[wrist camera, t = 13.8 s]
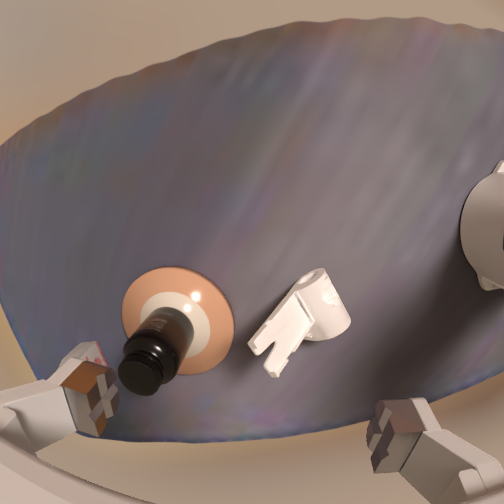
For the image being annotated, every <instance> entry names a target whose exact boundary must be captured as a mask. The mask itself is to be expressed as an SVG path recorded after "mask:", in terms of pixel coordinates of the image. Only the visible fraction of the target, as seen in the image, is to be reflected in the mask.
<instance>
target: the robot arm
mask: <svg viewBox="0 0 504 504" xmlns="http://www.w3.org/2000/svg"><path fill="white" fill-rule="evenodd" d="M460 235H461V243H462V248H463V251H464V254H465V256H466V258H467V260H468V262H469V263H470V265H471V266H472V267H473V268H474V269H475V271H476V273H477V276H478V280H479V284H480V286H481V288H482V289H484V290H486V291H489V290H494V289H499V288H502V289H504V161H503V160H502V161H500V162H499V163H498V164H497V166H496V167H495V169H494V171H493V172H492V174H491V175H489V176H488V177H486V178H484V179H483V180H481V181H480V182H479V183H478V184H477V185H476V186H475V187H474V188H473V190H472V191H471V193H470V194H469V196H468V198H467V200H466V203H465V205H464V208H463V212H462V217H461V225H460ZM115 380H116V375H115V370H113V369H112V368H110V367H107V366H103V365H100V364H97V363H93V362H90V361H86V360H83V359H80V358H77V357H71V358H70V359H69V360H68V361H67V362H66V363H65V364H64V365H63V366H61V367H60V368H59V369H58V370H57V371H56V372H55V373H54V374H53V375H52V376H51V377H50V378H49V379H48V380H47V381H46V380H39V381H36V382H32V383H29V384H25V385H21V386H18V387H14V388H11V389H6V390H3V391H0V504H154V503H151V502H147V501H144V500H140V499H137V498H134V497H131V496H128V495H124V494H122V493H119V492H116V491H113V490H110V489H107V488H104V487H102V486H99V485H97V484H94V483H92V482H89V481H87V480H84V479H82V478H80V477H77V476H75V475H73V474H70V473H68V472H66V471H64V470H62V469H59V468H57V467H55V466H53V465H51V464H49V463H47V462H45V461H43V460H41V459H39V458H38V457H37V455H36V453H35V452H37V451H38V450H41V449H43V448H45V447H47V446H48V445H51V444H53V443H55V442H57V441H58V440H60V439H62V438H64V437H66V436H68V435H70V434H72V433H74V432H76V431H77V430H79V431H82V432H85V433H88V434H91V435H94V436H97V437H100V435H101V434H102V432H103V431H104V429H105V428H106V426H107V425H108V423H107V418H109V417H112V416H114V414H115V413H116V411H117V409H118V405H119V390H118V388H117V387H116V386H115V385H114V381H115ZM374 410H375V414H376V416H375V417H374V418H372V419H371V420H370V422H369V425H368V428H367V435H366V437H367V445H368V448H369V449H370V450H371V451H373V454H372V456H371V462H372V466H373V470H374V473H390V472H399V473H400V474H401V475H402V476H403V477H404V478H405V479H406V480H407V481H408V482H409V483H410V484H411V485H412V486H413V487H414V488H415V489H416V490H417V491H418V492H419V493H420V494H421V495H422V496H424V498H426V499H427V500H428V501H429V502H430V503H431V504H504V471H503V469H502V467H501V465H500V463H499V462H498V460H496V459H495V458H493V457H491V456H489V455H488V454H486V453H485V452H483V451H481V450H480V449H478V448H476V447H475V446H473V445H471V444H469V443H468V442H466V441H464V440H463V439H461V438H460V437H458V436H456V435H455V434H453V433H451V432H450V431H448V430H446V429H441V427H440V425H439V423H438V421H437V420H436V418H435V416H434V414H433V412H432V410H431V408H430V407H429V405H428V403H427V401H426V399H425V398H423V397H419V398H409V399H393V400H379V401H378V402H377V404H376V407H375V409H374Z"/></svg>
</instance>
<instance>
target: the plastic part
mask: <svg viewBox="0 0 504 504" xmlns="http://www.w3.org/2000/svg"><path fill="white" fill-rule="evenodd" d="M350 323H351V319H350V317H349V315H348V313H347V311H346V309H345V307H344V305H343V303H342V301H341V299H340V297H339V296H338V294H337V292H336V290H335V288H334V287H333V285H332V283H331V281H330V279H329V277H328V275H327V273H326V271H325V269H323V268H319V269H315V270H313V271H311V272H309V273H308V274H306V275H304V276H302V277H301V278H300V279H299V280H298V281H297V282H296V283H295V284H294V286H293V287H292V288H291V290H290V291H289V292H288V293H287V295H286V296H285V297H284V298H283V300H282V301H281V302H280V304H279V305H278V306H277V307H276V309H275V310H274V311H273V312H272V314H271V315H270V316H269V317H268V319H267V320H266V321H265V322H264V323H263V325H262V326H261V327H260V328H259V330H258V331H257V332H256V333H255V334H254V336H253V337H252V338H251V339H250V340H249V342H248V343H247V344H248V345H249V347H250V348H251V349H252V351H253V352H254V354H255V355H260V354H261V353H262V352H263V351H264V350H265V349H266V348H267V347H268V346H269V345H270V344H271V343H272V342H274V341H275V344H274V347H273V349H272V351H271V352H270V354H269V356H268V357H267V359H266V361H265V363H264V368H265V369H266V370H267V372H268V373H269V374H270V376H271V377H279V376H280V375H279V374H280V372H281V371H282V369H283V368H284V367H285V365H286V364H287V362H288V361H289V360H286V359H287V357H288V356H289V354H290V353H291V352H295V351H296V349H297V348H298V346H299V345H300V343H301V342H302V340H303V339H304V340H310V341H321V340H327V339H331V338H333V337H336V336H337V335H339V334H341V333H342V332H344V331H345V330H346V329H347V328H348V327H349V325H350Z"/></svg>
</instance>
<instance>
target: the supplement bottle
mask: <svg viewBox="0 0 504 504" xmlns="http://www.w3.org/2000/svg"><path fill="white" fill-rule="evenodd" d="M193 338H194V328H193V325H192V323H191V321H190V319H189V318H188V317H187V316H186V315H185V314H184V313H183V312H181V311H180V310H178V309H175V308H172V307H160V308H157V309H155V310H154V311H152V312H151V313H150V314H149V316H148V317H147V318H146V319H145V320H144V321H143V322H142V324H141V325H140V326H139V327H138V328H137V329H136V331H135V332H134V333H133V334H132V335H131V337H130V338H129V339H128V340H127V342H126V343H125V345H124V348H123V361H122V362H121V364H120V365H119V368H118V375H119V379H120V380H121V382H122V383H123V385H124V386H125V387H126V388H127V389H129V390H130V391H132V392H133V393H136V394H138V395H143V396H149V395H152V394H154V393H155V392H157V390H158V388H159V387H160V386H161V385H162V384H165V383H168V382H169V381H171V380H172V379H173V378H174V377H175V375H176V374H177V372H178V370H179V368H180V366H181V364H182V362H183V360H184V358H185V356H186V354H187V352H188V350H189V348H190V346H191V344H192V341H193Z"/></svg>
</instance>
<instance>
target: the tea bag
mask: <svg viewBox="0 0 504 504" xmlns="http://www.w3.org/2000/svg"><path fill="white" fill-rule="evenodd" d="M71 357H77V358H80V359H83V360H86V361H90V362H93V363H97V364H100V365H103V366H107V367H108V365H107V363H106V361H105V359H104V357H103V354H102V352H101V350H100V348H99V346H98V343H97V341H92V342H82V343H80V344H78V345H77V346H76V347H75V348H74V349H73V350H72V351H71V352H70V353H69V354H68V355H66V356H65V357H64V358H63V359H62V360H61V363H60V365H59V367H58V369H59V368H60V367H61V366H63V365H64V364H65V363H66V362H67V361H68V360H69V359H70V358H71ZM58 369H57V370H58Z"/></svg>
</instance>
